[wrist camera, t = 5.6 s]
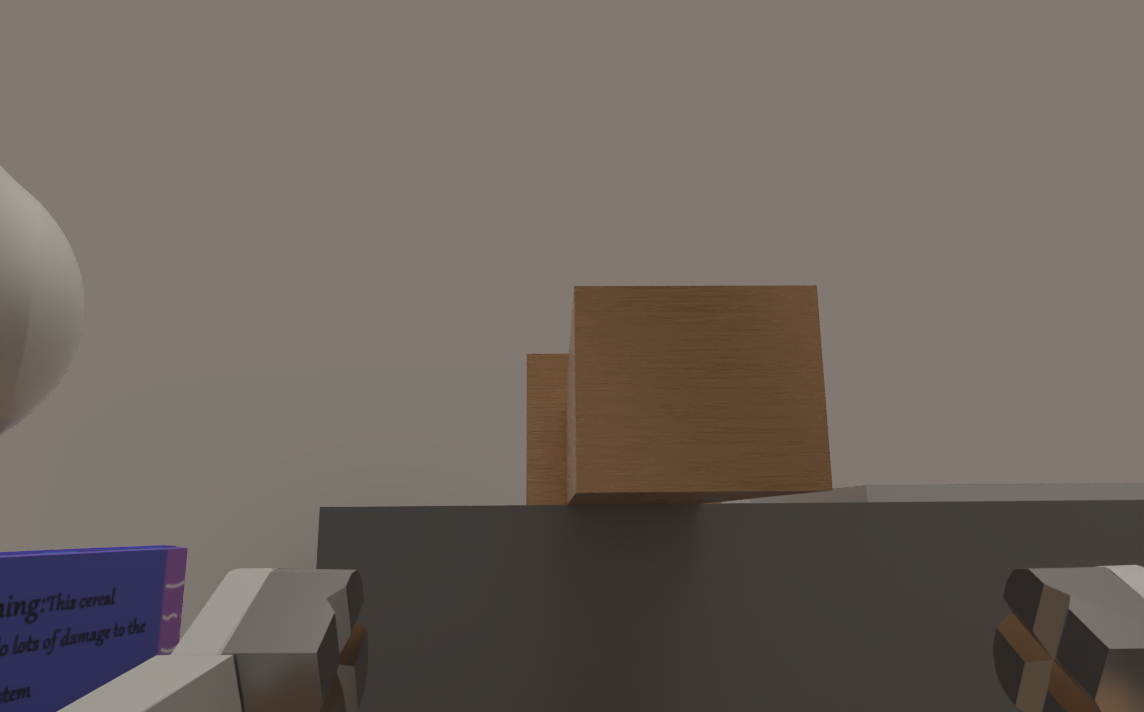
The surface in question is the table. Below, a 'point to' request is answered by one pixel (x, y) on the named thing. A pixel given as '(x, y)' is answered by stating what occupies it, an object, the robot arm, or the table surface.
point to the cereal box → (83, 619)
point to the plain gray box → (713, 597)
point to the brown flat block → (680, 398)
